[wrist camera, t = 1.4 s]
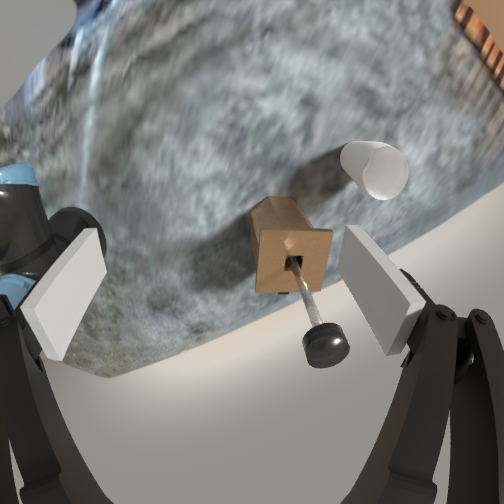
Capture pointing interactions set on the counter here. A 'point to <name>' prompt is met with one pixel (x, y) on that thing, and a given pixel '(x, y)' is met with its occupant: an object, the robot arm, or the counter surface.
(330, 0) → the counter surface
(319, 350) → the plunger
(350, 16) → the counter surface
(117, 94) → the counter surface
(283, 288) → the block
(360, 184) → the cup
